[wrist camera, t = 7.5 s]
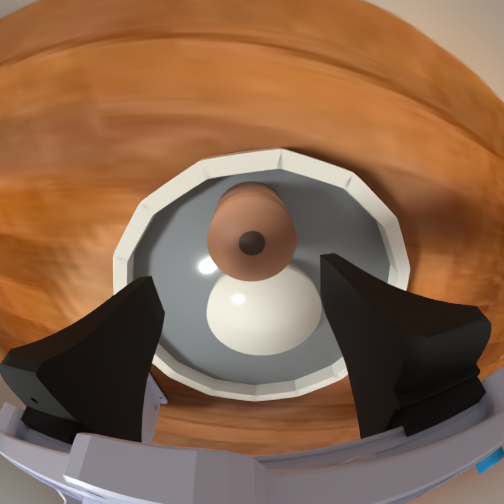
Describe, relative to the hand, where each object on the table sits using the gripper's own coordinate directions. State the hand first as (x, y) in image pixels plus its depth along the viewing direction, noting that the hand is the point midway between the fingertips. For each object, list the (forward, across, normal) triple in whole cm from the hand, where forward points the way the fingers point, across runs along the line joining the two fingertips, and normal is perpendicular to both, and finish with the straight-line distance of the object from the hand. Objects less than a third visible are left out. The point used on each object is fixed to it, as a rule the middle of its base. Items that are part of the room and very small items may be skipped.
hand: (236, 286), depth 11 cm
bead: (+8, -1, 0) cm, 8 cm away
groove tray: (+9, -1, +8) cm, 12 cm away
